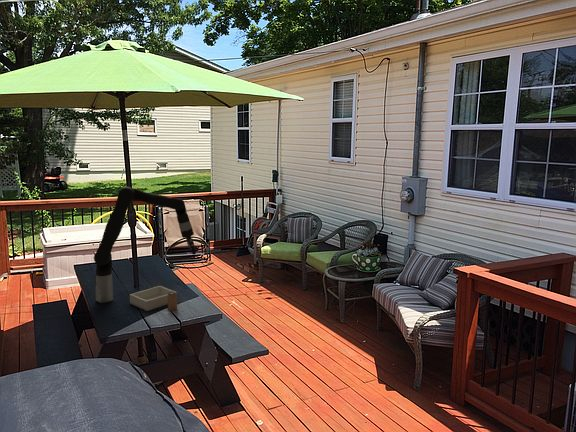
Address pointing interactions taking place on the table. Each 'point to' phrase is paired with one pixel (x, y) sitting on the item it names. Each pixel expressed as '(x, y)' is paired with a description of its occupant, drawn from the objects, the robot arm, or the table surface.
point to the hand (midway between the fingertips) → (193, 253)
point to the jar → (172, 301)
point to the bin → (150, 298)
